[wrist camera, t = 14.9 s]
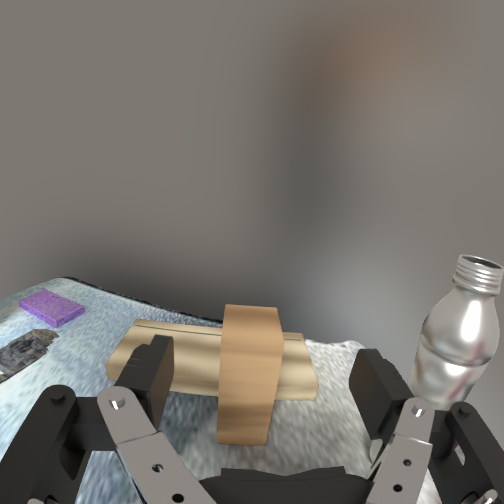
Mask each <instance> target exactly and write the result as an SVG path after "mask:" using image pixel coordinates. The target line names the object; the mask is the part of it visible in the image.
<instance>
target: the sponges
mask: <svg viewBox="0 0 504 504" xmlns="http://www.w3.org/2000/svg"><path fill="white" fill-rule="evenodd" d="M19 304H20V307H22V308H23V309H25V310H26V311H28V312H30V313H32V314H33V315H35V316H37V317H38V318H40V319H41V320H44V321H45V322H46V323H48V324H50V325H52V326H53V327H55V328H57V327H59V326H61V325H63V324H65V323H66V322H68V321H70V320H72V319H74V318H75V317H77V316H79V315H81V314H83V313H84V306H83V305H80V304H78V303H75V302H71V301H70V300H68V299H66V298H63V297H61V296H59V295H57V294H54V293H52V292H50V291H48V290H46V289H44V290H41V291H40V292H38V293H35V294H34V295H32V296H30V297H28V298H24V299H22V300H20V301H19Z"/></svg>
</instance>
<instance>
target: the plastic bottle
mask: <svg viewBox="0 0 504 504" xmlns="http://www.w3.org/2000/svg"><path fill="white" fill-rule="evenodd" d="M503 270H504V268H503V267H502V266H501V265H499V264H497V263H495V262H492V261H490V260H487V259H483V258H480V257H475V256H471V255H460V257H459V259H458V264H457V268H456V273H454V276H453V280H452V281H453V283H454V284H455V287H454V289H453V290H452V291H451V292H450V293H449V294H448V295H446V296H445V297H444V298H443V299H442V300H440V301H439V303H438V304H436V306H435V307H433V308H432V309H431V311H430V312H429V314H428V315H427V317H426V318H425V320H424V323H423V326H422V330H421V333H420V339H419V343H418V348H417V352H416V357H415V361H414V365H413V368H412V371H411V374H410V377H409V379H408V383H407V386H408V387H409V389H410V390H411V392H412V394H413V395H414V397H415V398H422V399H425V400H426V401H428V402H429V403H431V404H432V406H433V407H434V410H443V411H449V409H450V407H451V406H452V404H453V403H455V402H458V401H462V402H464V401H465V399H466V398H467V396H468V394H469V393H470V391H471V389H472V388H473V386H474V385H475V383H476V382H477V380H478V379H479V377H480V376H481V374H482V373H483V371H484V369H485V368H486V366H487V365H488V364H489V362H490V360H491V359H492V357H493V355H494V353H495V351H496V349H497V347H498V341H499V335H500V331H499V323H498V317H497V313H496V310H495V305H494V297H495V296H498V295H499V292H500V289H501V288H500V284H501V280H502V276H503V272H504V271H503ZM381 444H382V439H378V440H373V441H372V444H371V447H370V458H371V460H372V462H373V460H374V458H375V456H376V454H377V452H378V449H379V447H380V446H381Z"/></svg>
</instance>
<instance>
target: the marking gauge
mask: <svg viewBox="0 0 504 504" xmlns="http://www.w3.org/2000/svg"><path fill="white" fill-rule="evenodd" d="M283 349H284V339H283V334H282V330H281V325H280V321H279V317H278V313H277V308H270V307H256V306H241V305H229V304H226V307H225V313H224V321H223V328H222V335H221V349H220V371H219V396H218V427H217V443H222V444H237V445H266V440H267V435H268V431H269V426H270V421H271V416H272V410H273V405H274V400H275V395H276V389H277V384H278V378H279V373H280V367H281V361H282V355H283Z"/></svg>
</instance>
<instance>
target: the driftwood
mask: <svg viewBox="0 0 504 504" xmlns="http://www.w3.org/2000/svg"><path fill="white" fill-rule="evenodd" d="M57 337H59V336H58V335H57V334H56V333H55V332H53V331H51V330H48V329H34V330H32V331H30V332H28V333H26V334H25V335H23V336H21V337H19V338H17V339H15V340H13V341H11V342H10V343H9V344H8V345H7V346H5V347H3V348H1V349H0V371H2V372H3V373H4V374H1V375H0V382H1V381H3V380H5V379H7V378H8V377H10V376H11V375H13V374H15V373H16V372H18V371H20V370H21V369H23V368H25V367H26V366H27V365H29V364H31V363H32V362H34V361H35V360H37V359H38V358H40V357H41V356H43V355H45V354H46V351H47V350H48V349H47V348H46V347H48V346H49V345H50V344H52V342H53V341H51V340H53V338H57Z"/></svg>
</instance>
